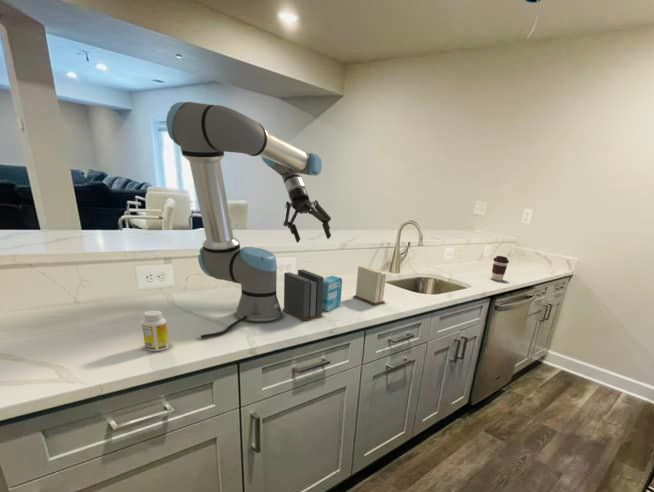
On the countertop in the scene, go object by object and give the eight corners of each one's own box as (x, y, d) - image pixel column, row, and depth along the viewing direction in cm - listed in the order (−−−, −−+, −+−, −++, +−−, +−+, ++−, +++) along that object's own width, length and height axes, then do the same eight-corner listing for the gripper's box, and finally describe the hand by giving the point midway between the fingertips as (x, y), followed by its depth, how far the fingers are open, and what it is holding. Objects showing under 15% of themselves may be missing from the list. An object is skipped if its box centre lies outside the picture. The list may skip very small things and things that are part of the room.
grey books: (304, 320, 139) (305, 279, 133) (283, 310, 146) (283, 270, 140) (322, 316, 145) (324, 277, 139) (301, 307, 153) (302, 269, 147)
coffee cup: (504, 282, 249) (509, 259, 243) (489, 279, 250) (494, 256, 244) (504, 279, 258) (509, 257, 252) (489, 276, 259) (494, 254, 253)
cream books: (374, 305, 167) (377, 273, 161) (353, 297, 174) (356, 266, 169) (384, 303, 172) (388, 271, 167) (364, 295, 179) (367, 264, 174)
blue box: (326, 312, 151) (328, 282, 146) (316, 309, 152) (318, 280, 147) (340, 304, 162) (342, 277, 157) (331, 302, 163) (332, 275, 158)
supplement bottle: (170, 343, 109) (166, 309, 106) (167, 351, 105) (163, 316, 101) (147, 344, 107) (142, 309, 103) (143, 352, 103) (138, 316, 99)
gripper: (321, 195, 167) (338, 240, 166) (265, 198, 153) (282, 246, 152) (327, 185, 161) (344, 231, 159) (269, 187, 147) (287, 237, 146)
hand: (314, 239), depth 156 cm, fingers open, 13 cm apart
